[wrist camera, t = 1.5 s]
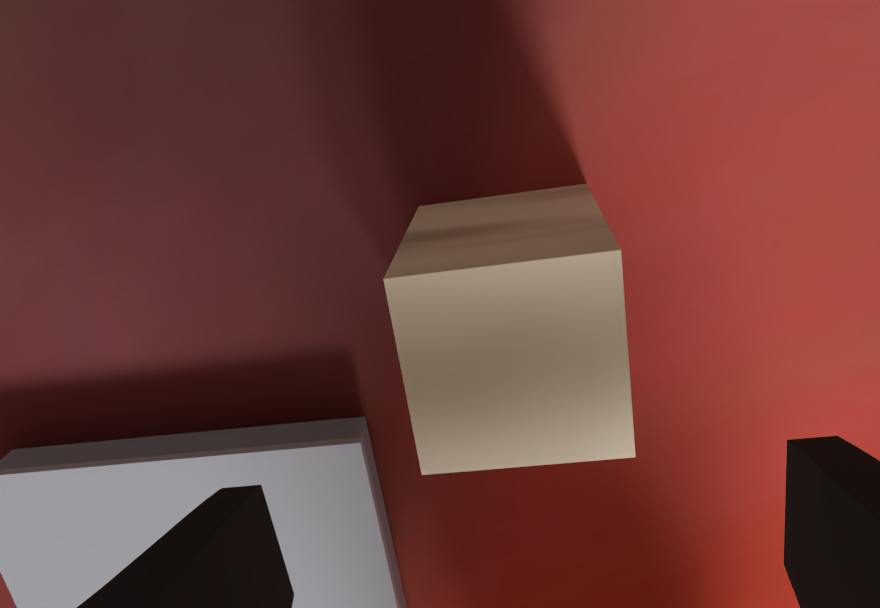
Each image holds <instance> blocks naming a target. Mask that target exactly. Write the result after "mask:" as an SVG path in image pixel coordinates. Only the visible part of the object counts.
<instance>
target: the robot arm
mask: <svg viewBox="0 0 880 608" xmlns="http://www.w3.org/2000/svg"><path fill="white" fill-rule="evenodd" d="M784 565H785V568H786V571H787V573H788V576H789V579H790V581H791V584H792V587H793V589H794V592H795V595H796V597H797V600H798V603H799V605H800V608H880V461H879V460H877V459H875V458H874V457H872V456H871V455H869V454H867V453H866V452H864V451H862V450H861V449H859V448H857V447H856V446H854V445H852V444H851V443H849V442H847V441H845V440H844V439H842V438H840V437H838V436H830V437H818V438H806V439H794V440H787V468H786V505H785V542H784ZM293 599H294V592H293V588H292V585H291V582H290V578H289V575H288V572H287V568H286V565H285V562H284V559H283V555H282V552H281V549H280V545H279V542H278V539H277V535H276V532H275V529H274V525H273V522H272V519H271V516H270V512H269V509H268V506H267V502H266V499H265V496H264V492H263V489H262V486H261V485H252V486H240V487H229V488H221V489H220V490H218V491H217V492H215V493H214V494H213V495H211V496H210V497H209V498H207V499H206V500H205V501H204V502H202V503H201V504H200V505H199V506H197V507H196V508H195V509H194V510H193V511H191V512H190V513H189V514H188V515H187V516H185V517H184V518H183V519H182V520H181V521H179V522H178V523H177V524H176V525H175V526H174V527H172V528H171V529H170V530H169V531H168V532H167V533H165V534H164V535H163V536H162V537H161V538H160V539H158V540H157V541H156V542H155V543H154V544H153V545H151V546H150V547H149V548H148V549H147V550H146V551H144V552H143V553H142V554H141V555H140V556H138V557H137V558H136V559H135V560H134V561H133V562H131V563H130V564H129V565H128V566H127V567H125V568H124V569H123V570H122V571H121V572H120V573H118V574H117V575H116V576H115V577H114V578H112V579H111V580H110V581H109V582H108V583H107V584H105V585H104V586H103V587H102V588H101V589H99V590H98V591H97V592H96V593H94V594H93V595H92V596H91V597H89V598H88V599H87V600H86V601H84V602H83V603H82V604H80V605H79V606H78V607H77V608H292V604H293Z"/></svg>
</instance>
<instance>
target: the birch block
mask: <svg viewBox="0 0 880 608" xmlns="http://www.w3.org/2000/svg"><path fill="white" fill-rule="evenodd" d="M383 280H384V285H385V290H386V295H387V300H388V305H389V311H390V316H391V321H392V326H393V331H394V336H395V341H396V346H397V351H398V357H399V362H400V367H401V372H402V377H403V382H404V387H405V392H406V397H407V403H408V408H409V413H410V418H411V423H412V428H413V433H414V438H415V443H416V449H417V454H418V459H419V464H420V469H421V474H422V475H429V474H441V473H453V472H465V471H478V470H490V469H502V468H514V467H526V466H538V465H550V464H562V463H574V462H586V461H598V460H610V459H622V458H634V457H636V456H635V442H634V428H633V414H632V399H631V385H630V371H629V356H628V342H627V328H626V313H625V299H624V285H623V271H622V256H621V249H620V247H619V245H618V243H617V241H616V239H615V237H614V235H613V233H612V231H611V230H610V228H609V226H608V224H607V222H606V220H605V218H604V216H603V214H602V212H601V210H600V208H599V206H598V205H597V203H596V201H595V199H594V197H593V195H592V193H591V191H590V189H589V187H588V185H587V184H579V185H572V186H565V187H557V188H550V189H542V190H535V191H528V192H520V193H513V194H506V195H498V196H491V197H484V198H476V199H469V200H461V201H454V202H447V203H439V204H432V205H425V206H418V209H417V211H416V213H415V215H414V217H413V219H412V221H411V223H410V225H409V227H408V229H407V231H406V233H405V235H404V237H403V239H402V242H401V244H400V246H399V248H398V250H397V252H396V254H395V256H394V258H393V260H392V262H391V264H390V266H389V268H388V270H387V272H386V275H385V277H384V279H383Z"/></svg>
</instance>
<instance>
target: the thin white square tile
mask: <svg viewBox="0 0 880 608" xmlns="http://www.w3.org/2000/svg"><path fill="white" fill-rule="evenodd" d="M252 485H261V486H262V489H263V492H264V496H265V499H266V502H267V506H268V509H269V512H270V516H271V519H272V522H273V525H274V529H275V532H276V535H277V539H278V542H279V545H280V549H281V552H282V555H283V559H284V562H285V565H286V568H287V572H288V575H289V578H290V582H291V585H292V588H293V592H294V599H293V604H292V608H407V605H406V601H405V596H404V592H403V587H402V583H401V578H400V573H399V569H398V564H397V560H396V555H395V551H394V546H393V542H392V537H391V532H390V528H389V523H388V519H387V514H386V510H385V505H384V500H383V496H382V491H381V487H380V482H379V478H378V473H377V469H376V464H375V459H374V455H373V450H372V446H371V441H370V437H369V432H368V428H367V423H366V418H365V416H364V417H353V418H342V419H332V420H321V421H310V422H300V423H289V424H279V425H268V426H257V427H247V428H236V429H225V430H215V431H204V432H193V433H183V434H172V435H161V436H151V437H140V438H129V439H119V440H108V441H97V442H87V443H76V444H65V445H55V446H44V447H34V448H23V449H13V450H11V451H10V452H9V453H8V454H7V455H6V456H4V457H3V458H2V459H1V460H0V572H1V574H2V576H3V578H4V581H5V583H6V585H7V587H8V589H9V591H10V593H11V595H12V598H13V600H14V602H15V604H16V606H17V608H77V607H78V606H79V605H80V604H82V603H83V602H84V601H86V600H87V599H88V598H89V597H91V596H92V595H93V594H94V593H96V592H97V591H98V590H99V589H101V588H102V587H103V586H104V585H105V584H107V583H108V582H109V581H110V580H111V579H112V578H114V577H115V576H116V575H117V574H118V573H120V572H121V571H122V570H123V569H124V568H125V567H127V566H128V565H129V564H130V563H131V562H133V561H134V560H135V559H136V558H137V557H138V556H140V555H141V554H142V553H143V552H144V551H146V550H147V549H148V548H149V547H150V546H151V545H153V544H154V543H155V542H156V541H157V540H158V539H160V538H161V537H162V536H163V535H164V534H165V533H167V532H168V531H169V530H170V529H171V528H172V527H174V526H175V525H176V524H177V523H178V522H179V521H181V520H182V519H183V518H184V517H185V516H187V515H188V514H189V513H190V512H191V511H193V510H194V509H195V508H196V507H197V506H199V505H200V504H201V503H202V502H204V501H205V500H206V499H207V498H209V497H210V496H211V495H213V494H214V493H215V492H217V491H218V490H220V489H221V488H229V487H240V486H252Z"/></svg>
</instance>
